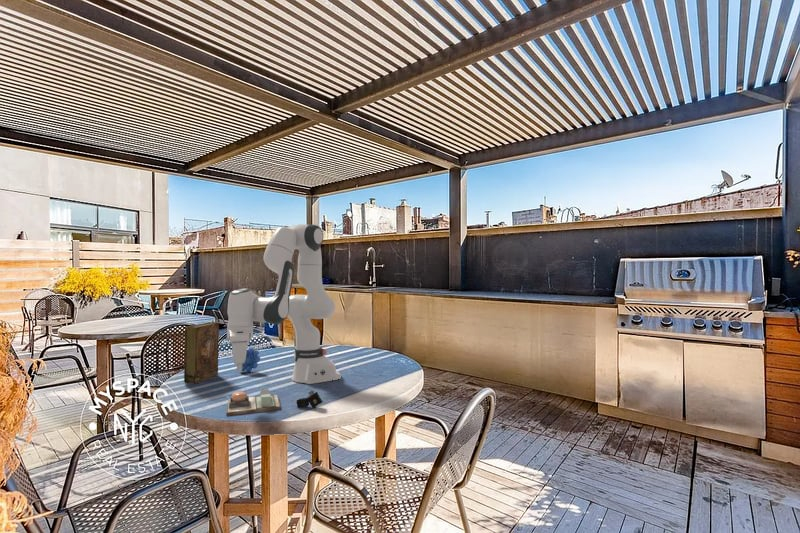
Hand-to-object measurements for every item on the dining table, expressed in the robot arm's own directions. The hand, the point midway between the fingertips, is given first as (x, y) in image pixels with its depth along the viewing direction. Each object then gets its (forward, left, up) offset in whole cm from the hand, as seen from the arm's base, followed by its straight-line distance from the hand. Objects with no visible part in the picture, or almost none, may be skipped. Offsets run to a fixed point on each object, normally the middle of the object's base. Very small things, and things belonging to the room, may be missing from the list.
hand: (239, 370), depth 142 cm
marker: (-9, 0, -12) cm, 15 cm away
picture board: (-5, 0, -14) cm, 14 cm away
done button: (0, 0, -11) cm, 11 cm away
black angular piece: (-24, +9, -14) cm, 29 cm away
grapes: (-4, -51, -14) cm, 53 cm away
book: (+16, -44, -14) cm, 49 cm away
